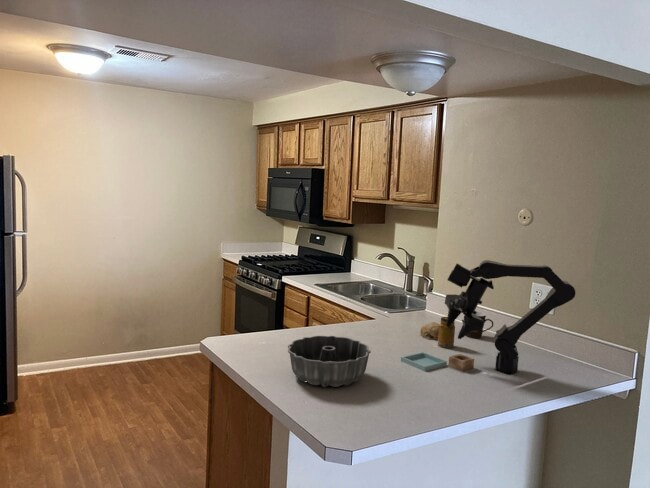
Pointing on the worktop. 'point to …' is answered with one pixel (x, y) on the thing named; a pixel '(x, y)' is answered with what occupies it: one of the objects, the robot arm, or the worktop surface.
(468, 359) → the ring
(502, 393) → the worktop surface
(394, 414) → the worktop surface
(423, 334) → the bread roll
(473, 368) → the gray plate with knob
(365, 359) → the bundt pan
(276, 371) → the worktop surface
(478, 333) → the coffee mug
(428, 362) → the tray
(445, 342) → the condiment
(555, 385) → the worktop surface
